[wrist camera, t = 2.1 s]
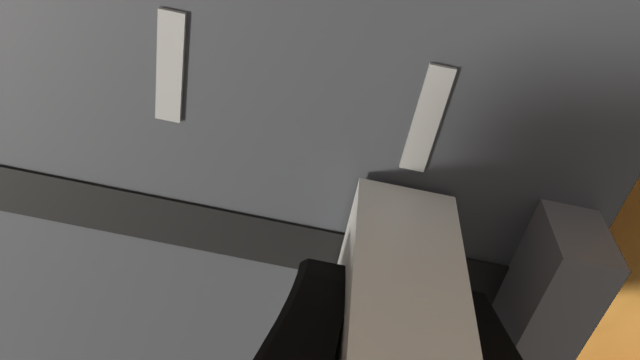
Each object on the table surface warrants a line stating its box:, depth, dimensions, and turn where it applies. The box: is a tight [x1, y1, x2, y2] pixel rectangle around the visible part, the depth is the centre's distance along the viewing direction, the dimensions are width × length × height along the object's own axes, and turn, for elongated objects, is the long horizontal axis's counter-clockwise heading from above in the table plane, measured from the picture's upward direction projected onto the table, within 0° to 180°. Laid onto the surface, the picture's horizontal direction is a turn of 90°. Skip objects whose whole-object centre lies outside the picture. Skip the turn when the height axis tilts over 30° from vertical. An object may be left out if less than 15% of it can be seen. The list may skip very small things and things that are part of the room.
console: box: [0, 0, 640, 360], centre depth 11 cm, size 16×16×4 cm
